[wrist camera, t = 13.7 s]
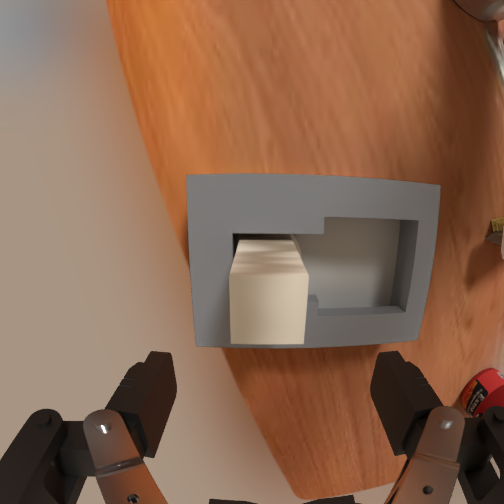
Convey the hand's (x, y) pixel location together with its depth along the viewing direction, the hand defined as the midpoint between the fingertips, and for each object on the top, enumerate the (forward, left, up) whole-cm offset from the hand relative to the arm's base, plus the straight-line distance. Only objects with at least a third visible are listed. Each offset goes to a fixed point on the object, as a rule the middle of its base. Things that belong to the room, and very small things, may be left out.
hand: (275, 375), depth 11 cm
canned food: (-33, +21, -18) cm, 43 cm away
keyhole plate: (-4, 0, -18) cm, 19 cm away
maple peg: (0, 0, -17) cm, 17 cm away
